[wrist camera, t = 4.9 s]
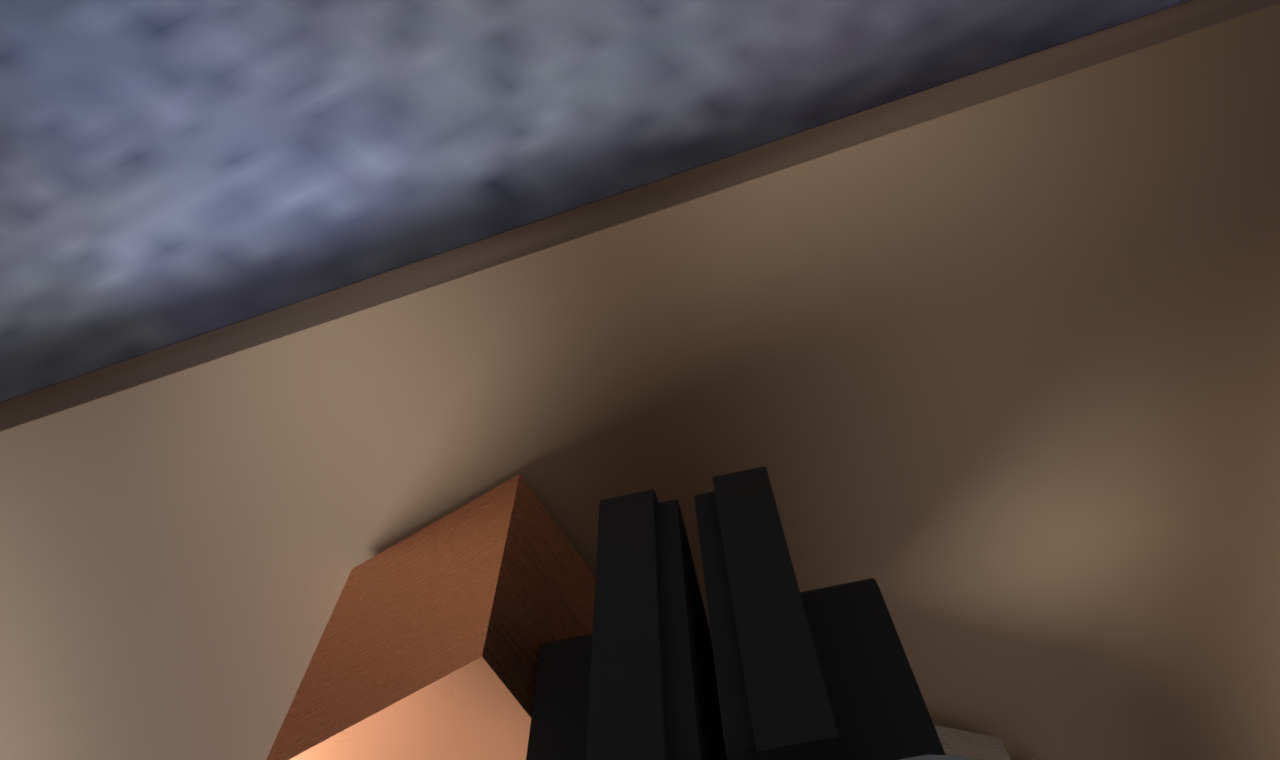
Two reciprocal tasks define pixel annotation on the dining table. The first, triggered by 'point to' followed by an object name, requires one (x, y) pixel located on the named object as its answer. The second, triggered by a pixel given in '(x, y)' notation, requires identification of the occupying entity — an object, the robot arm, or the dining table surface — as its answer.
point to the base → (745, 416)
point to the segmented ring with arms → (458, 642)
